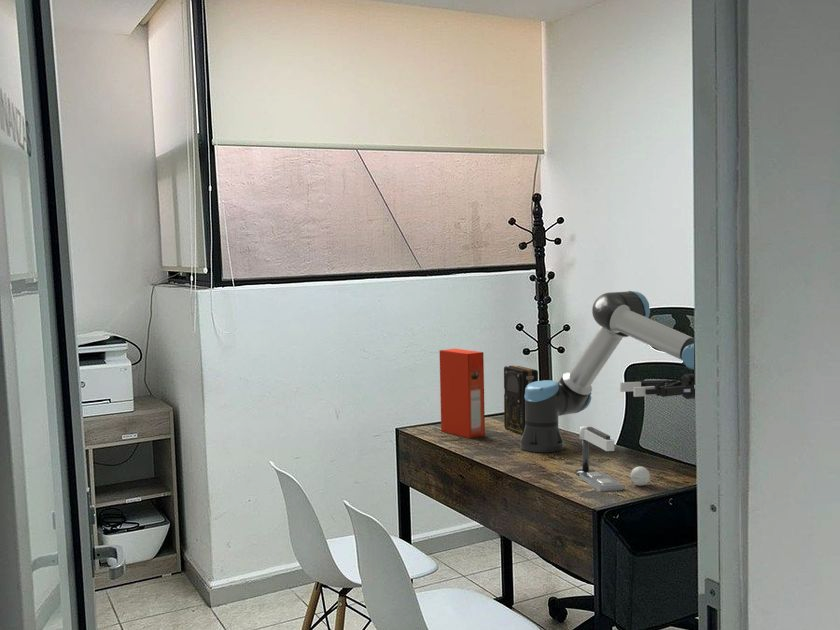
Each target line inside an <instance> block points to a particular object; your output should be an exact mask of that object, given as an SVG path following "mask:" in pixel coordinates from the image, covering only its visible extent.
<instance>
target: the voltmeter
mask: <svg viewBox="0 0 840 630" xmlns="http://www.w3.org/2000/svg"><path fill="white" fill-rule="evenodd" d="M536 381H539V371H538V370H537V369H533V368H528V367H524V366H520V365H509V366H508V365H507V366H506V365H505V366H504V367H503V389H504V390H503V391H504V393H503V399H504V400H503V406H504V407H503V410H504V411H503V412H504V414H503V416H504V419H503V420H504V423H503V424H504V426H503V427H504V428H505V429H506V430H509V431H511V432H514V433H516V434H519V435H521V436H522V435H523V432H524V429H525V389H526V386H527V385H528V384H530V383H532V382H536Z"/></svg>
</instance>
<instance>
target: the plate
mask: <svg viewBox="0 0 840 630" xmlns="http://www.w3.org/2000/svg"><path fill="white" fill-rule="evenodd" d="M578 478H579V479H580V480H582V481H584V482H585V483H587V484H588V485H589V486H591V487H592V488H594V489H596V490H597V491H598V492H612V491H623V490H624V487H623V485H624V484H622V483H620V482H619V481H617V480H615V479H614V478H612V477H611V476H609V475H608V474H606V473H604V472H602V471H600V470H599V471H595V472H585V473H579V476H578Z"/></svg>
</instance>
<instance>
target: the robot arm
mask: <svg viewBox="0 0 840 630" xmlns="http://www.w3.org/2000/svg"><path fill="white" fill-rule="evenodd" d="M591 312H592V314H591V315H592V317H593V320H594V321H595V322H596V324H597V325H598V326H599V328H597V330H596V332H595V333H594V334H593V337H592V338H591V339H590V341H589V343H587V345H586V347H585V349H584V350H583V352H582V354H580V356H579V358H578V359H577V360H576V362H575V364H574V365H573V366H572V368H571V370H569V371H566V372H564V373H563V374H562V376H561V377H560V379H559V381H558V382H557V381H555V380H550V379H548V380H545V379H543V380H538V381H536V382H532V383H530V384H528V385H527V386H526V389H525V429H524V432H523V435H522V434H521V438H520V449H521V450H522V451H523V450H524V451H526V452H533V453H555V452H559V451H563V450H564V439H563V437H562V434H561V431H560V427H559V416H560V417H561V416H567V415H573V414H577V413H580V412H582V411H584V410H586V409H587V408H588V407H589V406H590V404H591V401H592V396H591V395H592V391H593V386H592V384H593V382H594V381H595V380H596V378H597V376H599V374H600V372H601V371H602V369H603V367H604V366H605V365H606V363H607V362H608V360H609V359H610V358H611V356H612V354H613V353H614V351H615V350H616V348H617V347H618V345H619V344H620V342H621V341H622V339H623V338H629V337H631V338H633V339H635V340H637V341H639V342H642V343H644V344H646V345H647V346H650V347H653V348H655V349H656V350H659V351H661V352H663V353H665V354H668V355H670V356H671V357H674V358H676V359H679V360H680V361H682V363H683V364H684V365H685V367H686V368H688V369H690V370H695V369H694V337H692V336H690V335H689V334H688V335H687V334H686V333H684V332H681V331H678V330H677V329H674V328H671V327H669V326H667V325H665V324H663V323H660V322H657V321H656V320H653V319H651V318H650V314H651V308H650V303H649V301H648V299H647V297H646V296H645V295H644V294H642V293H641V292H639V291H632V290H627V291H615V292H605V293H603V294H601V295H599V296H598V297H597V298H596V299H595V300H594V303H593V304H592V309H591ZM694 374H695V373H685V374H683V375H682V376H681V378H680V379H679V380H678V379H662V380H660V379H658V380H657V379H656V380H652V379H651V380H650V379H649V380H642V379H641V380H640V379H639V380H638V381H625V382H619V392H621V393H625V392H626V393H627V392H633V397H634V398H636V397H637V398H638V397H639V398H640V397H655V396H657V397H659V396H661V397H662V398H665V397H675V396H682V397H683V399H686V400H695V389H694Z"/></svg>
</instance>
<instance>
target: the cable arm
mask: <svg viewBox="0 0 840 630" xmlns="http://www.w3.org/2000/svg"><path fill="white" fill-rule="evenodd" d="M579 440H587V441H588V442H589V444H590V443H591V444H592V445H594V446H596V447H598V448H600V449H602V450H603V451H605V452H614V451H615V440H614V439H612V438H611V435H609V434H607V433H605V432H603V431H601V430H599V429H597V428H595V427H593V426H589V425H588V426H587V425H584V426H583V425H581V426H579Z"/></svg>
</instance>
